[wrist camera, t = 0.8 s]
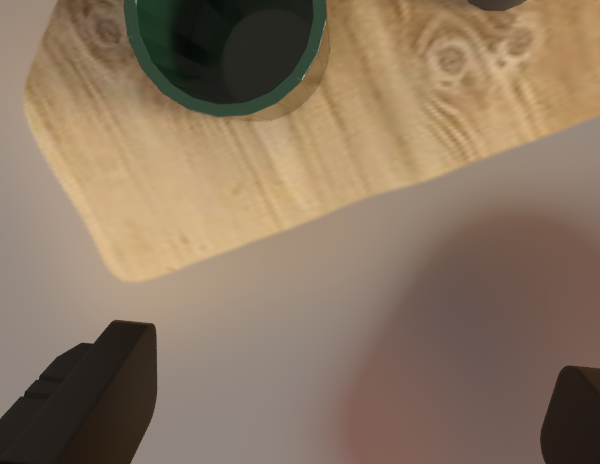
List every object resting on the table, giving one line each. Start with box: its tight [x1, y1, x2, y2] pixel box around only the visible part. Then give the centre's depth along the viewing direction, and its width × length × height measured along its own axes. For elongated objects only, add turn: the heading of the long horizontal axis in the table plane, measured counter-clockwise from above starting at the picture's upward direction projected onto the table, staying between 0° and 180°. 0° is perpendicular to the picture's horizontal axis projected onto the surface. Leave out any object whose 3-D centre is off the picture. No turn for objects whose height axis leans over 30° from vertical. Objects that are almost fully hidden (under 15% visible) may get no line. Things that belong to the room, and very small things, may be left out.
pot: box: [124, 0, 330, 122], centre depth 29 cm, size 11×11×10 cm
